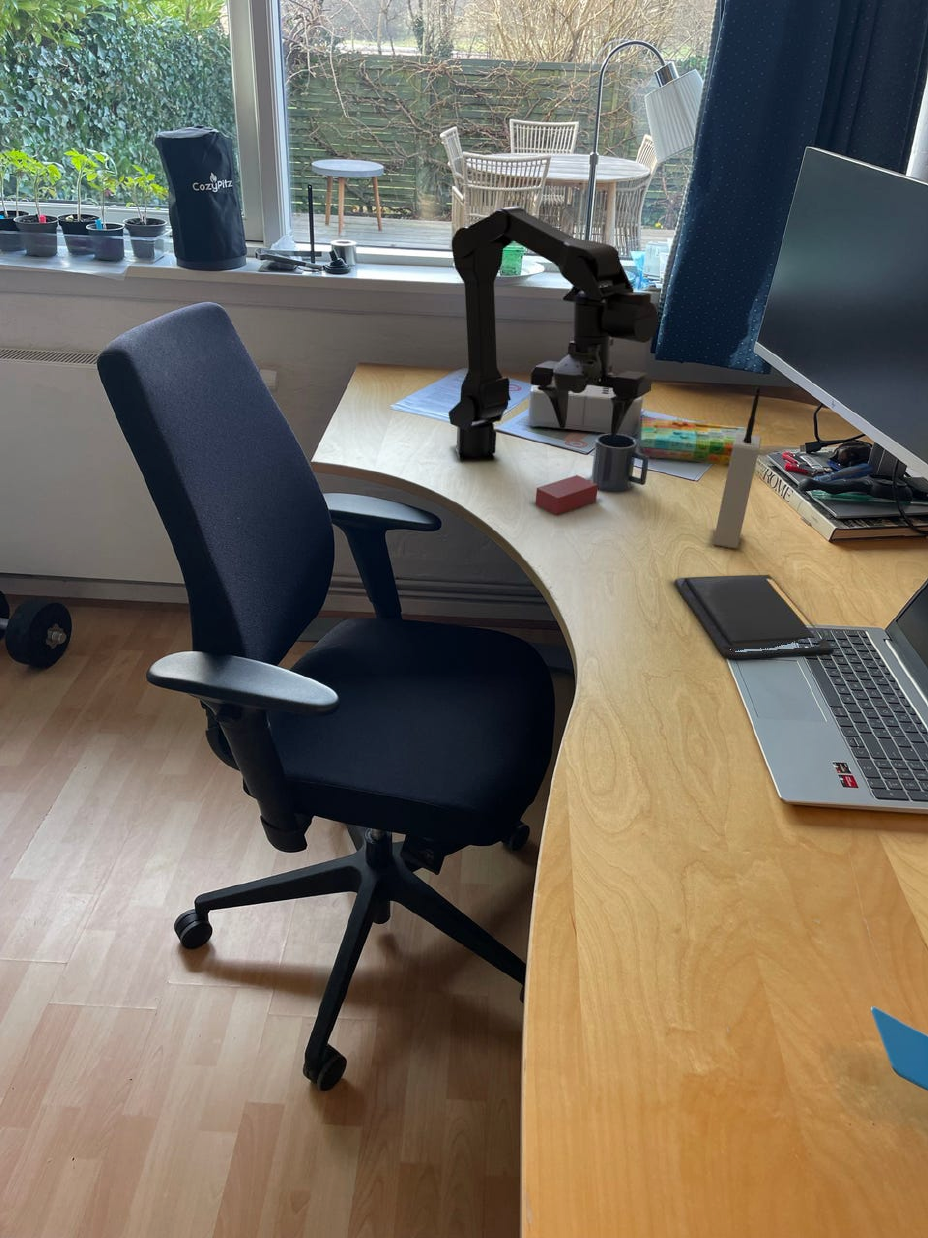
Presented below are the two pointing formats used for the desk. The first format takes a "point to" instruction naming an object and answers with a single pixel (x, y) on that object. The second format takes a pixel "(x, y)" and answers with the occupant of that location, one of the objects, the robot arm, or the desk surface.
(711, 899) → the desk surface
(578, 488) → the red rectangular block
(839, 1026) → the desk surface
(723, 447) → the puzzle game
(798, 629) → the wallet
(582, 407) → the projector
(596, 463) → the mug
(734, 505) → the vintage mobile phone
